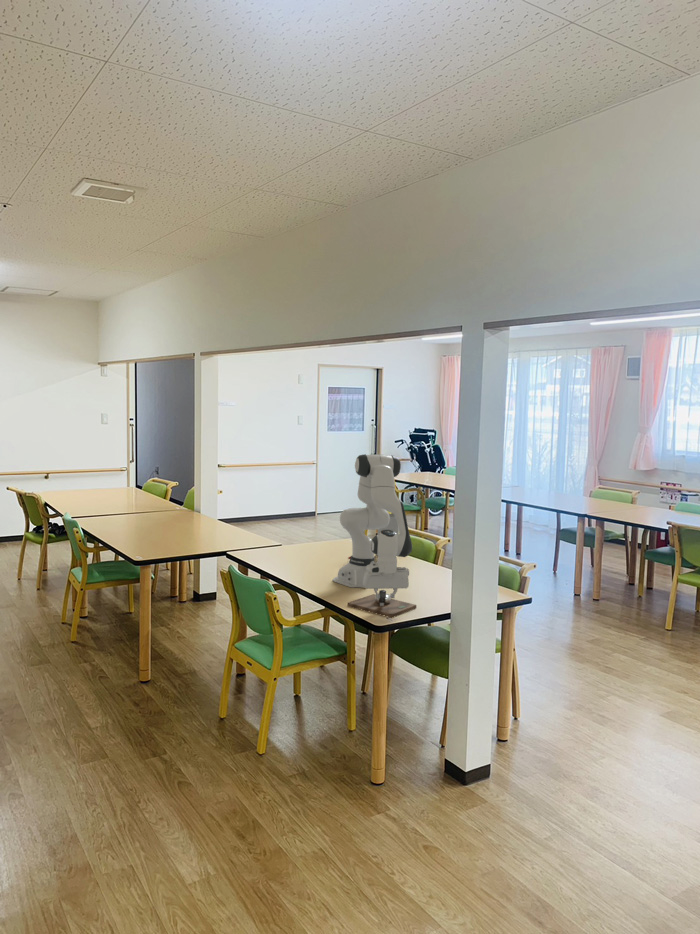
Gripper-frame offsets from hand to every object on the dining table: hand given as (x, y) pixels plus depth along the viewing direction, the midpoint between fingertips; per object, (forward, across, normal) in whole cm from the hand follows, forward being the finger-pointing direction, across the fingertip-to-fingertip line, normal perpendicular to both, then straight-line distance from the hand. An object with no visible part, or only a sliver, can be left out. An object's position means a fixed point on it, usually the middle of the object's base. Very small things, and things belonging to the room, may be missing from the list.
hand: (385, 598), depth 305 cm
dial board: (+6, 0, -6) cm, 8 cm away
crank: (+4, 0, -5) cm, 6 cm away
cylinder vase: (+5, -29, -108) cm, 112 cm away
